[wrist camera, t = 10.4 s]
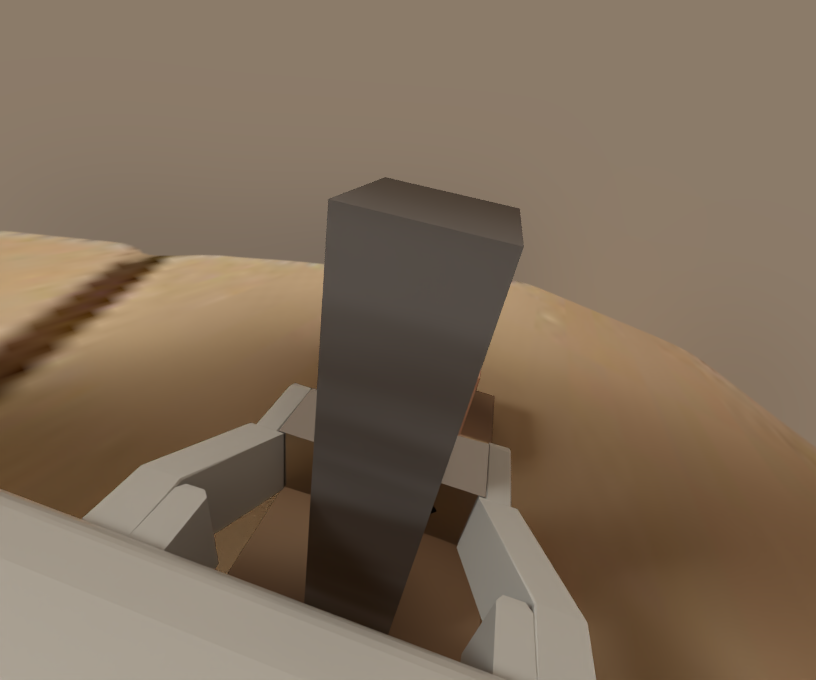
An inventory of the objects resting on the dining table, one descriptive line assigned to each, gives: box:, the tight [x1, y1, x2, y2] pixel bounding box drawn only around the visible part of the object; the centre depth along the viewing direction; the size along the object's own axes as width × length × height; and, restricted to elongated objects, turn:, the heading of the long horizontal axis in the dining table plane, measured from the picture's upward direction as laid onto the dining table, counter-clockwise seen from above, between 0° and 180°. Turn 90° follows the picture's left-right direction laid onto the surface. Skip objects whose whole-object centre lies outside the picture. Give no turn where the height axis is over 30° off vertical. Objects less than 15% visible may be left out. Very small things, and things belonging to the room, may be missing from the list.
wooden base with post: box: [228, 178, 524, 662], centre depth 12 cm, size 17×8×13 cm, turn 167°
